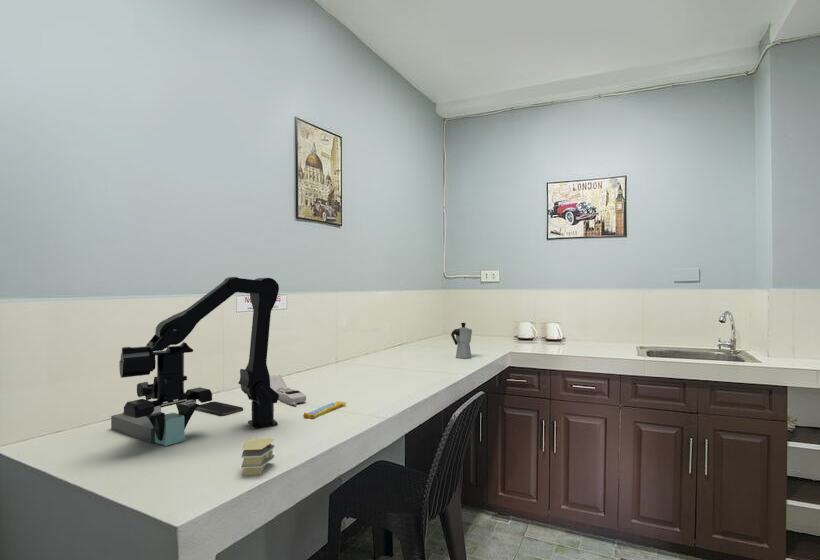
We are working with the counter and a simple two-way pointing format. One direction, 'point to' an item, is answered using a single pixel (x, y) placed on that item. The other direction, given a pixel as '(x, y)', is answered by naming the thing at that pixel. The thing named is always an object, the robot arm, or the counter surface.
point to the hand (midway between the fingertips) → (170, 437)
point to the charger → (172, 429)
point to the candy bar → (323, 410)
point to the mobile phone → (286, 391)
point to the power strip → (134, 427)
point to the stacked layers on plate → (256, 455)
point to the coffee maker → (462, 341)
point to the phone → (219, 408)
